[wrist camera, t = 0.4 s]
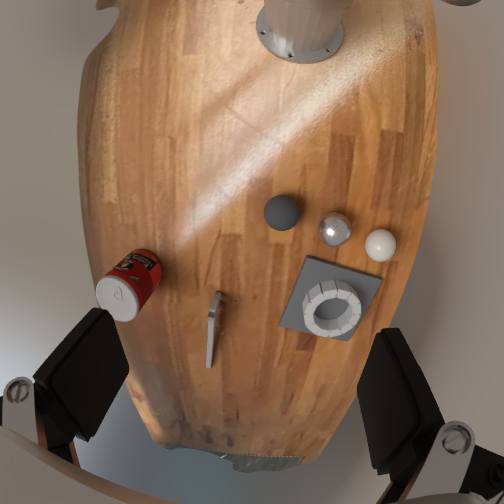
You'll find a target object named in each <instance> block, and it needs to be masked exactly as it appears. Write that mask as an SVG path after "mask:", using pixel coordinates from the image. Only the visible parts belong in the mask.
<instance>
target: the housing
mask: <svg viewBox="0 0 504 504" xmlns="http://www.w3.org/2000/svg"><path fill="white" fill-rule="evenodd" d="M381 282H382V279H381V278H380V277H377V276H374V275H371V274H367V273H364V272H361V271H358V270H354V269H351V268H348V267H344V266H341V265H338V264H334V263H331V262H328V261H324V260H321V259H318V258H314V257H311V256H308V255H306V257H305V260H304V263H303V265H302V268H301V270H300V273H299V275H298V278H297V280H296V283H295V285H294V288H293V290H292V293H291V295H290V298H289V300H288V302H287V305H286V307H285V310H284V312H283V314H282V317H281V319H280V321H279V326H281V327H285V328H290V329H294V330H298V331H302V332H306V333H311V334H315V335H319V336H323V337H329V338H334V339H338V340H343V341H349V339H350V337H351V336H352V334H353V332H354V331H355V329H356V327H357V326H358V324H359V322H360V320H361V319H362V317H363V315H364V313H365V312H366V310H367V308H368V306H369V304H370V303H371V301H372V299H373V297H374V295H375V293H376V291H377V290H378V288H379V286H380V284H381Z"/></svg>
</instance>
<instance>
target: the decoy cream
mask: <svg viewBox="0 0 504 504" xmlns="http://www.w3.org/2000/svg"><path fill="white" fill-rule="evenodd" d="M365 249H366V252H367V254H368V256H369V257H370V258H371V259H373V260H375V261H378V262H384V261H387V260H389V259H390V258H391V257H392V256H393V255H394V253H395V250H396V241H395V238H394V236H393V235H392V234H391V233H390V232H389V231H387V230H384V229H376V230H374V231H372V232H371V233H370V234H369V235H368V236H367V238H366V241H365Z"/></svg>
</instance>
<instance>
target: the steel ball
mask: <svg viewBox="0 0 504 504" xmlns="http://www.w3.org/2000/svg"><path fill="white" fill-rule="evenodd" d="M317 231H318V236H319V238H320V239H321V241H322V242H323V243H324V244H326V245H328V246H331V247H338V246H341V245H343V244H345V243H346V242H347V241H348V239H349V238H350V235H351V224H350V222H349V220H348V219H347V218H346V217H345V216H344V215H343V214H340V213H337V212H331V213H328V214H326V215H324V216H323V217H322V218H321V219H320V221H319V223H318V228H317Z"/></svg>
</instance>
